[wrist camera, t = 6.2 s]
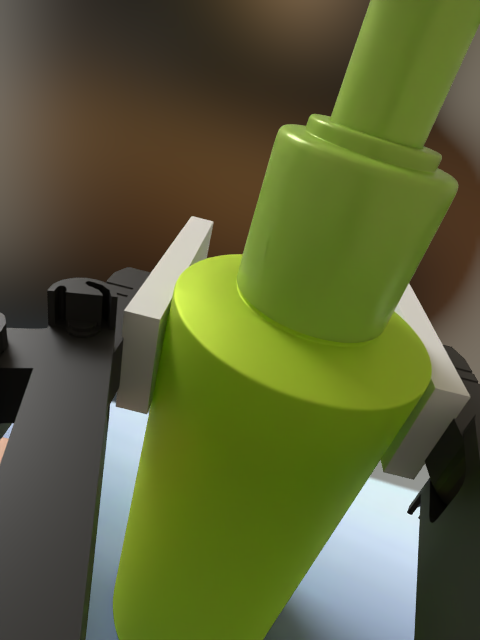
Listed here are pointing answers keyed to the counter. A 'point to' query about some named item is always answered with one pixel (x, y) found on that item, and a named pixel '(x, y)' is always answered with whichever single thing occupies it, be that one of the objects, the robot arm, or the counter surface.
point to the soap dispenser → (294, 347)
